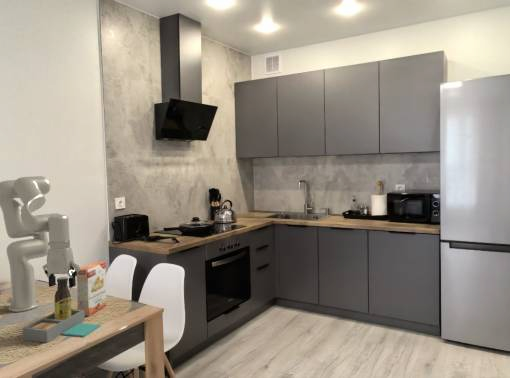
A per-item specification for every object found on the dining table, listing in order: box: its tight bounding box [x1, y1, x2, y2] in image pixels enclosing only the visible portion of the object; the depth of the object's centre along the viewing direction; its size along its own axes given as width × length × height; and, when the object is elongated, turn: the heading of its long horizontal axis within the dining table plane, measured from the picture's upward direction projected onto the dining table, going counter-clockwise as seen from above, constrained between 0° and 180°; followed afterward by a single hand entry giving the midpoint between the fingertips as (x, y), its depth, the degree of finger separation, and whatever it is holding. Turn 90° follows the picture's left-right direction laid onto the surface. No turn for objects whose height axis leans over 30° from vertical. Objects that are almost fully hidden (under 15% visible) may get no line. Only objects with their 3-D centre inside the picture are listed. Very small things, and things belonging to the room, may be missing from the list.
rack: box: [22, 308, 86, 343], centre depth 158 cm, size 11×21×4 cm, turn 166°
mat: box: [61, 322, 101, 338], centre depth 157 cm, size 10×10×1 cm
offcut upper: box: [32, 322, 56, 330], centre depth 152 cm, size 7×5×2 cm
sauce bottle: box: [54, 276, 72, 320], centre depth 162 cm, size 7×6×20 cm
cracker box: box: [76, 261, 108, 317], centre depth 178 cm, size 14×6×21 cm, turn 168°
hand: (62, 286), depth 161 cm, fingers open, 9 cm apart
